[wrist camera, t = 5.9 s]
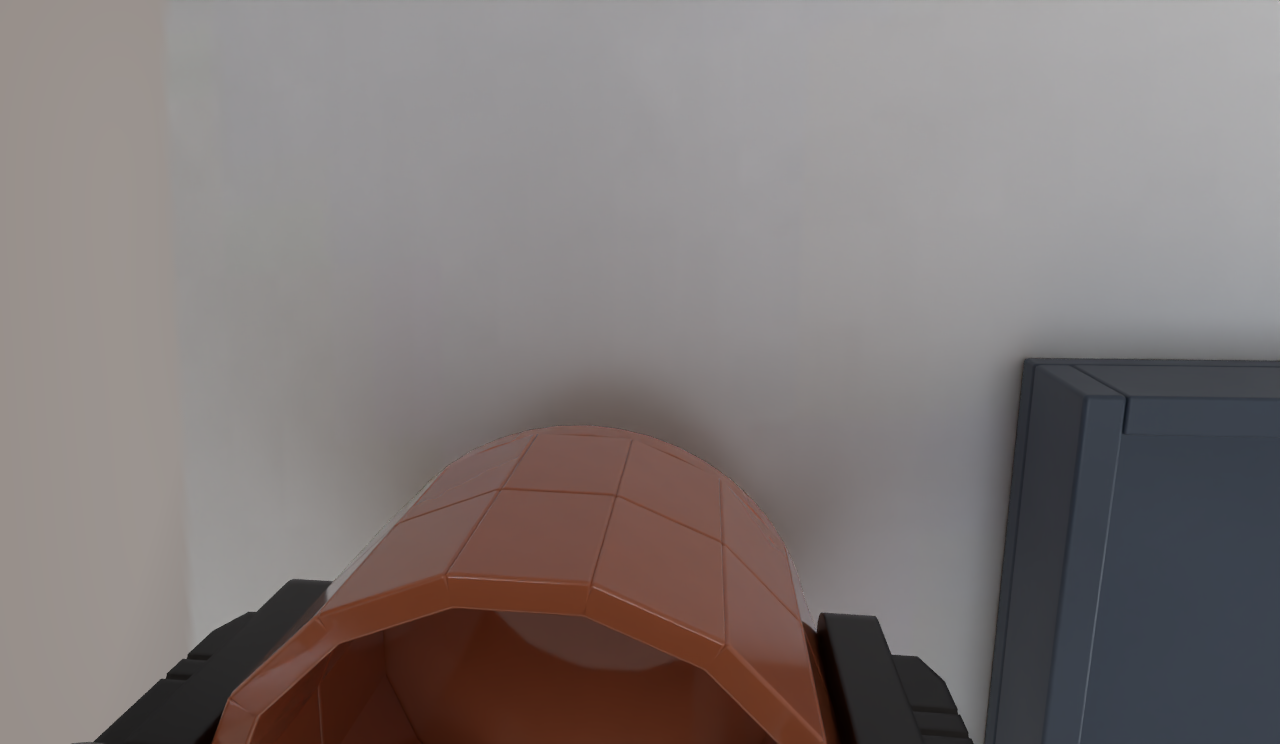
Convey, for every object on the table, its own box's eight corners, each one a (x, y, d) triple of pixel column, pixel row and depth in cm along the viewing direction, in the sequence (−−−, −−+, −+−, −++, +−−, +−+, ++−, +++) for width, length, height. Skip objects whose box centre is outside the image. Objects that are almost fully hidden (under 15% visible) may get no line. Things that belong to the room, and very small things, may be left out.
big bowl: (384, 799, 13) (225, 1106, 9) (363, 412, 12) (157, 555, 7) (792, 833, 13) (835, 1176, 8) (825, 435, 11) (899, 602, 7)
